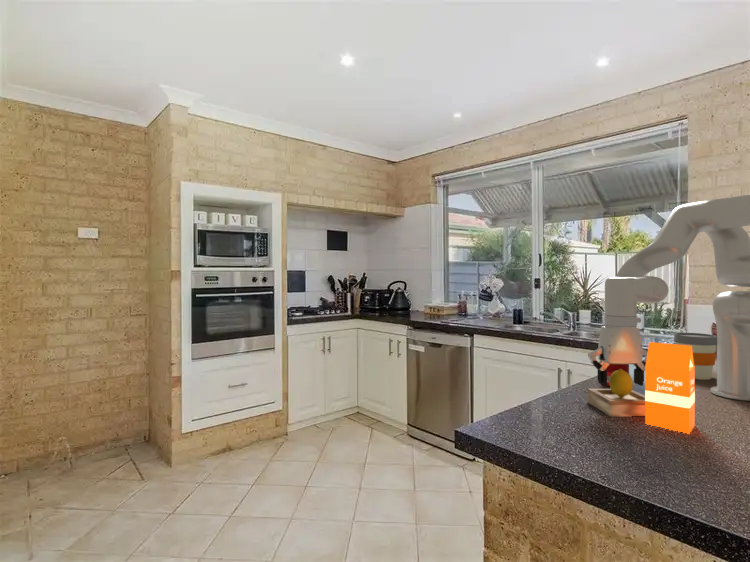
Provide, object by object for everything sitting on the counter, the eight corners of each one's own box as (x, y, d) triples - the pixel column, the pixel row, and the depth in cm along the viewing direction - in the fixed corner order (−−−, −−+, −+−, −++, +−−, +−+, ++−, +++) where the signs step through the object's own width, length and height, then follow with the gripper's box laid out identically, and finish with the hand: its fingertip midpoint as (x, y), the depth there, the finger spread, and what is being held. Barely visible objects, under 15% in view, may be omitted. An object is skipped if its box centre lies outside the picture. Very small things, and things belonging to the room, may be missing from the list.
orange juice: (652, 417, 107) (652, 340, 107) (695, 425, 101) (695, 343, 101) (644, 425, 102) (644, 343, 101) (689, 434, 95) (689, 348, 95)
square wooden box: (630, 402, 120) (630, 388, 120) (657, 416, 108) (657, 401, 108) (587, 402, 120) (587, 388, 120) (610, 416, 108) (610, 401, 108)
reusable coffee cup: (697, 381, 142) (697, 338, 142) (665, 373, 154) (665, 333, 154) (727, 379, 145) (727, 336, 144) (692, 371, 157) (692, 332, 157)
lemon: (629, 396, 116) (629, 367, 116) (635, 401, 110) (635, 371, 110) (607, 394, 117) (607, 366, 117) (611, 400, 112) (611, 370, 112)
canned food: (632, 388, 134) (632, 354, 134) (605, 387, 136) (605, 354, 135) (623, 382, 141) (623, 350, 141) (598, 381, 143) (598, 350, 143)
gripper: (644, 320, 117) (644, 380, 117) (582, 320, 118) (582, 381, 118) (661, 323, 110) (661, 388, 110) (595, 323, 110) (595, 388, 110)
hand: (620, 384), depth 114 cm, fingers open, 9 cm apart
